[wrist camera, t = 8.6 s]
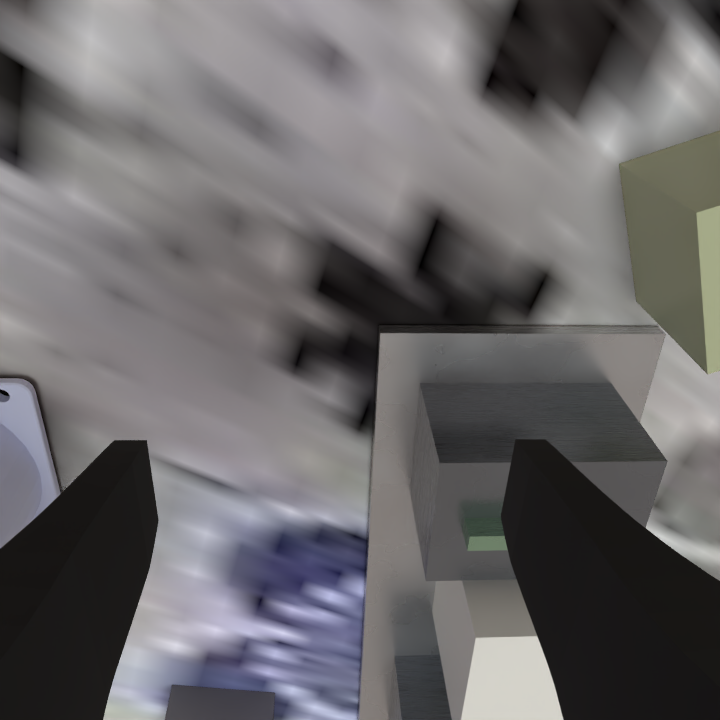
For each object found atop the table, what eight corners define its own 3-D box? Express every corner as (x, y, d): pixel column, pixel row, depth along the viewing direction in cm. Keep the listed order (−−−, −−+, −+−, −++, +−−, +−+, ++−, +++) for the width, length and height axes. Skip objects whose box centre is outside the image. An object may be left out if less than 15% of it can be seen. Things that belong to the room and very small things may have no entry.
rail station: (357, 732, 35) (364, 861, 30) (379, 325, 23) (396, 424, 18) (543, 726, 36) (581, 851, 31) (658, 326, 24) (750, 422, 19)
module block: (431, 617, 30) (455, 751, 25) (445, 509, 27) (476, 638, 22) (518, 614, 30) (560, 747, 25) (542, 508, 27) (596, 634, 22)
